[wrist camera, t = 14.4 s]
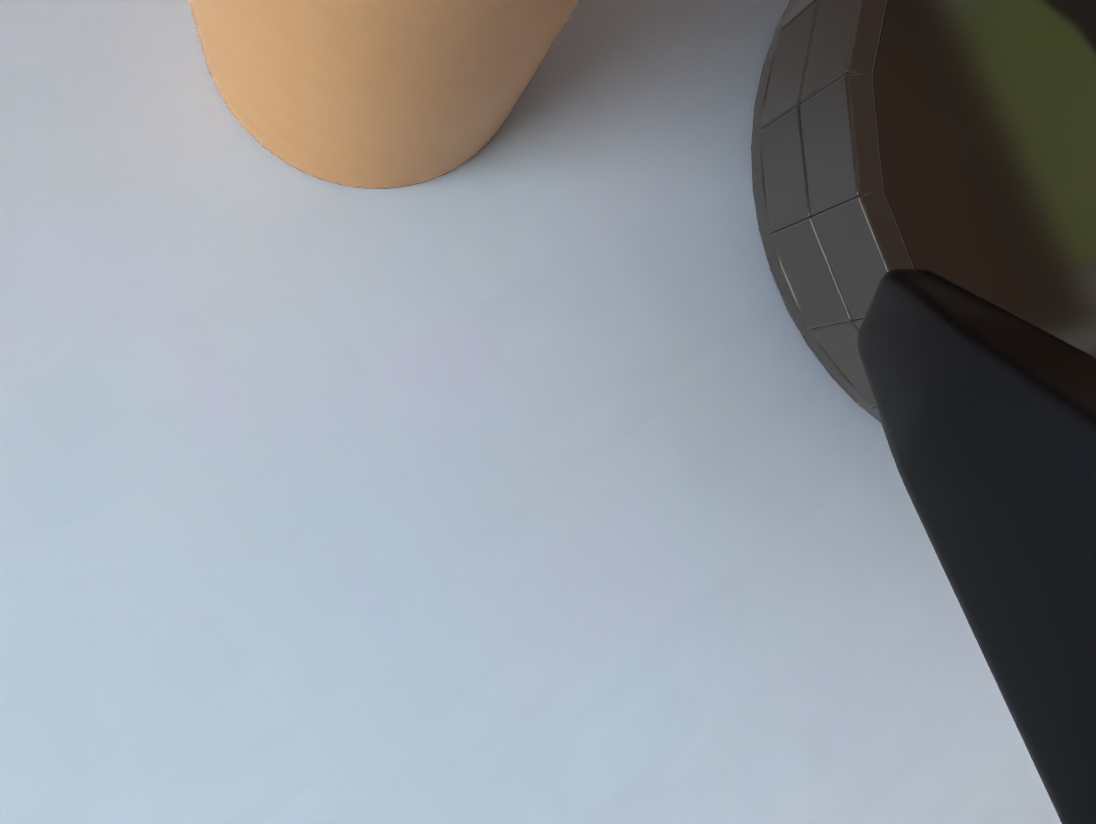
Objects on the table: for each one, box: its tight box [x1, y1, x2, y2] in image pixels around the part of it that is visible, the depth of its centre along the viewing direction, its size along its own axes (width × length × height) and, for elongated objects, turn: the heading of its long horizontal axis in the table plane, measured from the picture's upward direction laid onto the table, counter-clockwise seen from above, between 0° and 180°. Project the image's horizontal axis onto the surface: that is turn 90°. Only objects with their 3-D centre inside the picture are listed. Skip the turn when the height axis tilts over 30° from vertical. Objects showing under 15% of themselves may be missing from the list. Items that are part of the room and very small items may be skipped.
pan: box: [751, 0, 1096, 422], centre depth 18 cm, size 12×12×4 cm
